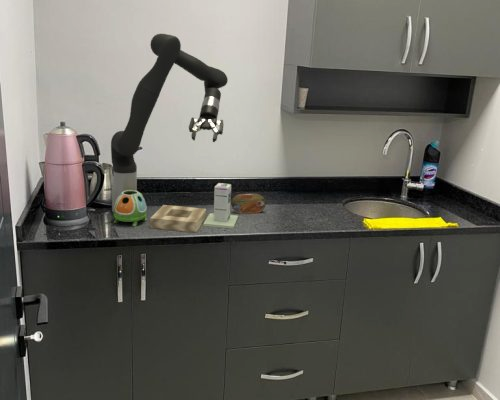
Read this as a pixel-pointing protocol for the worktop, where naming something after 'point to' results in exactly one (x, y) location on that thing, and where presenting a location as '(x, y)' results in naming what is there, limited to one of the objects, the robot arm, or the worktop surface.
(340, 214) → the worktop surface
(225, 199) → the syrup box
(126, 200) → the turtle holder
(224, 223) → the mat
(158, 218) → the socket block
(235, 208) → the tin
